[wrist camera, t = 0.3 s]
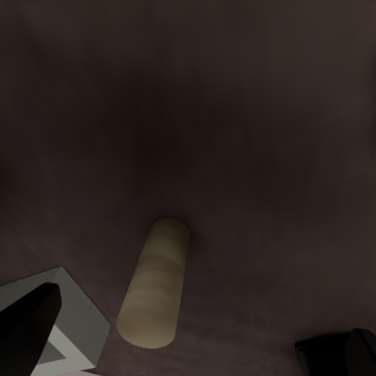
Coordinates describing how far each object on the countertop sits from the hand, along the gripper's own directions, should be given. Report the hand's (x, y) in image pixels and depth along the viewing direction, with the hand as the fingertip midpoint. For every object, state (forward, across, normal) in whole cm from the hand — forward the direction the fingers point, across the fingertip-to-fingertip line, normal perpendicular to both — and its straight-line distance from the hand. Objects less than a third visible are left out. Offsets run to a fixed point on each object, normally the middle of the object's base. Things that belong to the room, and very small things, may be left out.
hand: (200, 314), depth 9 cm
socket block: (+14, +15, +19) cm, 28 cm away
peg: (+14, +3, +8) cm, 16 cm away
